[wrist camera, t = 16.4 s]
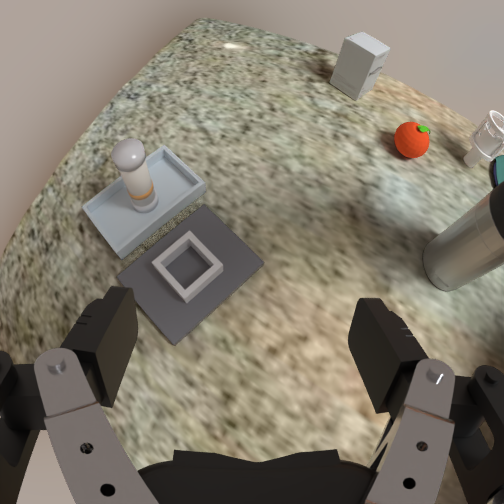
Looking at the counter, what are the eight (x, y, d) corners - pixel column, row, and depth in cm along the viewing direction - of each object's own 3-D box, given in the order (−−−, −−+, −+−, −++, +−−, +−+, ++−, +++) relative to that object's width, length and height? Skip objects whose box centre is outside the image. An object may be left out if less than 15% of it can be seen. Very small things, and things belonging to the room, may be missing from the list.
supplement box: (356, 102, 59) (375, 56, 48) (328, 83, 61) (343, 36, 49) (372, 90, 62) (392, 48, 50) (346, 72, 63) (362, 29, 51)
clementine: (409, 134, 58) (424, 112, 51) (428, 161, 55) (445, 139, 49) (382, 139, 56) (396, 115, 49) (401, 168, 54) (418, 144, 47)
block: (204, 208, 47) (203, 194, 44) (263, 265, 45) (266, 255, 41) (119, 279, 42) (110, 270, 39) (175, 345, 40) (170, 342, 36)
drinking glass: (484, 173, 57) (522, 134, 43) (468, 177, 55) (508, 135, 41) (468, 148, 59) (503, 107, 45) (451, 150, 58) (487, 106, 44)
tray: (166, 154, 50) (164, 144, 48) (205, 191, 48) (205, 182, 46) (87, 215, 45) (81, 206, 43) (121, 260, 43) (116, 253, 41)
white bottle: (148, 185, 47) (132, 133, 36) (163, 201, 46) (149, 150, 35) (127, 201, 46) (105, 151, 35) (142, 218, 45) (121, 170, 34)
